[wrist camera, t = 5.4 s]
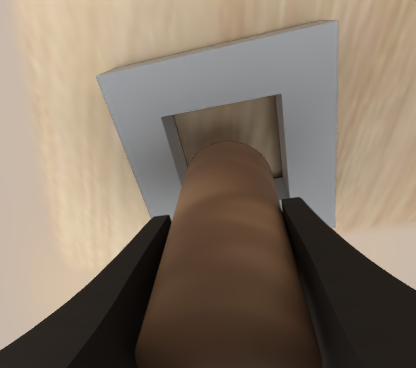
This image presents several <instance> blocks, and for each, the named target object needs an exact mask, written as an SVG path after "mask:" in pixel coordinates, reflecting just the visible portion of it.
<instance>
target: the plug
mask: <svg viewBox="0 0 416 368" xmlns="http://www.w3.org/2000/svg"><path fill="white" fill-rule="evenodd" d="M135 360H136V364H137V366H138V368H322V367H323V361H322V356H321V352H320V348H319V345H318V341H317V337H316V334H315V330H314V326H313V323H312V319H311V315H310V312H309V308H308V304H307V301H306V297H305V293H304V290H303V286H302V282H301V279H300V275H299V271H298V268H297V264H296V260H295V257H294V253H293V249H292V246H291V242H290V238H289V235H288V231H287V228H286V224H285V220H284V217H283V213H282V209H281V205H280V201H279V198H278V194H277V190H276V187H275V183H274V179H273V176H272V172H271V169H270V166H269V164H268V162H267V161H266V159H265V158H264V157H263V156H262V154H261V153H259V152H258V151H257V150H255V149H254V148H252V147H250V146H248V145H246V144H242V143H238V142H219V143H215V144H212V145H209V146H207V147H205V148H204V149H202V150H201V151H199V152H198V153H197V154H196V155H195V156H194V157H193V158H192V160H191V161H190V163H189V165H188V167H187V171H186V174H185V178H184V181H183V184H182V188H181V191H180V195H179V198H178V202H177V205H176V209H175V212H174V216H173V219H172V223H171V226H170V230H169V233H168V237H167V240H166V244H165V247H164V251H163V254H162V258H161V261H160V265H159V268H158V272H157V275H156V279H155V282H154V286H153V289H152V293H151V296H150V300H149V303H148V307H147V310H146V314H145V317H144V321H143V324H142V328H141V331H140V335H139V338H138V342H137V345H136V349H135Z"/></svg>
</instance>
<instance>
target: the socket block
mask: <svg viewBox="0 0 416 368" xmlns="http://www.w3.org/2000/svg"><path fill="white" fill-rule="evenodd" d="M337 73H338V21H336V20H320V21H316V22H312V23H307V24H303V25H299V26H294V27H290V28H286V29H282V30H277V31H273V32H269V33H264V34H260V35H256V36H251V37H247V38H243V39H239V40H234V41H230V42H226V43H221V44H217V45H213V46H208V47H204V48H200V49H196V50H191V51H187V52H183V53H178V54H174V55H170V56H165V57H161V58H157V59H153V60H148V61H144V62H140V63H135V64H131V65H127V66H122V67H118V68H114V69H112V70H109V71H107V72H105V73H102V74H100V75H98V76H96V78H97V81H98V83H99V86H100V89H101V91H102V94H103V96H104V99H105V101H106V104H107V107H108V109H109V112H110V114H111V117H112V119H113V122H114V124H115V127H116V130H117V132H118V135H119V137H120V140H121V142H122V145H123V148H124V150H125V153H126V155H127V158H128V160H129V163H130V165H131V168H132V171H133V173H134V176H135V178H136V181H137V183H138V186H139V189H140V191H141V194H142V196H143V199H144V201H145V204H146V207H147V209H148V212H149V214H150V217H151V219H152V218H153V217H154V216H162V215H170V218H171V221H172V219H173V216H174V212H175V209H176V205H177V202H178V198H179V195H180V191H181V188H182V184H183V181H184V178H185V174H186V171H187V164H186V160H185V157H184V153H183V150H182V146H181V142H180V139H179V135H178V132H177V128H176V125H175V121H174V117H173V115H175V114H180V113H185V112H190V111H195V110H200V109H205V108H210V107H216V106H221V105H226V104H231V103H236V102H241V101H246V100H251V99H256V98H262V97H267V96H272V95H275V96H276V107H277V118H278V129H279V140H280V151H281V162H282V173H283V177H282V178H275V179H274V183H275V187H276V190H277V194H278V198H279V201H280V205H281V209H282V202H281V199H287V198H294V197H300V198H302V199H303V200H304V201H305V202H306V203H307V205H308V206H309V207H310V208H311V209H312V210H313V211H314V212H315V213H316V214H317V215H318V216H319V217H320V218H321V219H322V220H323V221H324V222H325V223H326V224H327V225H328V226H330V227H335V201H336V137H337Z"/></svg>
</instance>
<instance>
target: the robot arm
mask: <svg viewBox="0 0 416 368" xmlns="http://www.w3.org/2000/svg"><path fill="white" fill-rule="evenodd" d="M281 202H282V213H283V217H284V220H285V224H286V228H287V231H288V235H289V238H290V242H291V246H292V249H293V253H294V257H295V260H296V264H297V268H298V271H299V275H300V279H301V282H302V286H303V290H304V293H305V297H306V301H307V304H308V308H309V312H310V315H311V319H312V323H313V326H314V330H315V334H316V337H317V341H318V345H319V348H320V352H321V356H322V361H323V367H322V368H416V290H415V289H413V288H411V287H410V286H408V285H406V284H405V283H403V282H402V281H400V280H398V279H397V278H395V277H394V276H392V275H391V274H389V273H388V272H386V271H385V270H383V269H382V268H381V267H379V266H378V265H376V264H375V263H374V262H372V261H371V260H369V259H368V258H367V257H365V256H364V255H363V254H362V253H360V252H359V251H358V250H356V249H355V248H354V247H353V246H351V245H350V244H349V243H348V242H346V241H345V240H344V239H343V238H342V237H341V236H340V235H338V234H337V233H336V232H335V231H334V230H333V229H332V228H331V227H330V226H328V225H327V224H326V223H325V222H324V221H323V220H322V219H321V218H320V217H319V216H318V215H317V214H316V213H315V212H314V211H313V210H312V209H311V208H310V207H309V206H308V205H307V203H306V202H305V201H304V200H303V199H302V198H300V197H294V198H287V199H281ZM171 223H172V221H171V218H170V215H162V216H154V217H153V218H152V219H151V220H150V221H149V222H148V223H147V224H146V225H145V226H144V227H143V228H142V229H141V230H140V232H139V233H138V234H137V235H136V236H135V237H134V238H133V239H132V240H131V241H130V242H129V244H128V245H127V246H126V247H125V248H124V249H123V250H122V251H121V252H120V253H119V254H118V255H117V256H116V257H115V258H114V259H113V260H112V261H111V262H110V263H109V264H108V265H107V266H106V267H105V268H104V269H103V270H102V271H101V272H100V273H99V274H98V275H97V276H96V277H95V278H94V279H93V280H92V281H91V282H90V283H89V284H88V285H86V286H85V287H84V288H83V289H82V290H81V291H80V292H78V293H77V294H76V295H75V296H74V297H72V298H71V299H70V300H69V301H68V302H67V303H65V304H64V305H63V306H61V307H60V308H59V309H58V310H56V311H55V312H54V313H52V314H51V315H50V316H48V317H47V318H46V319H44V320H43V321H42V322H40V323H39V324H38V325H36V326H35V327H34V328H32V329H31V330H30V331H28V332H27V333H25V334H24V335H22V336H21V337H20V338H18V339H17V340H15V341H14V342H12V343H11V344H9V345H8V346H6V347H5V348H3V349H2V350H0V368H138V366H137V364H136V360H135V349H136V345H137V342H138V338H139V335H140V331H141V328H142V324H143V321H144V317H145V314H146V310H147V307H148V303H149V300H150V296H151V293H152V289H153V286H154V282H155V279H156V275H157V272H158V268H159V265H160V261H161V258H162V254H163V251H164V247H165V244H166V240H167V237H168V233H169V230H170V226H171Z"/></svg>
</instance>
